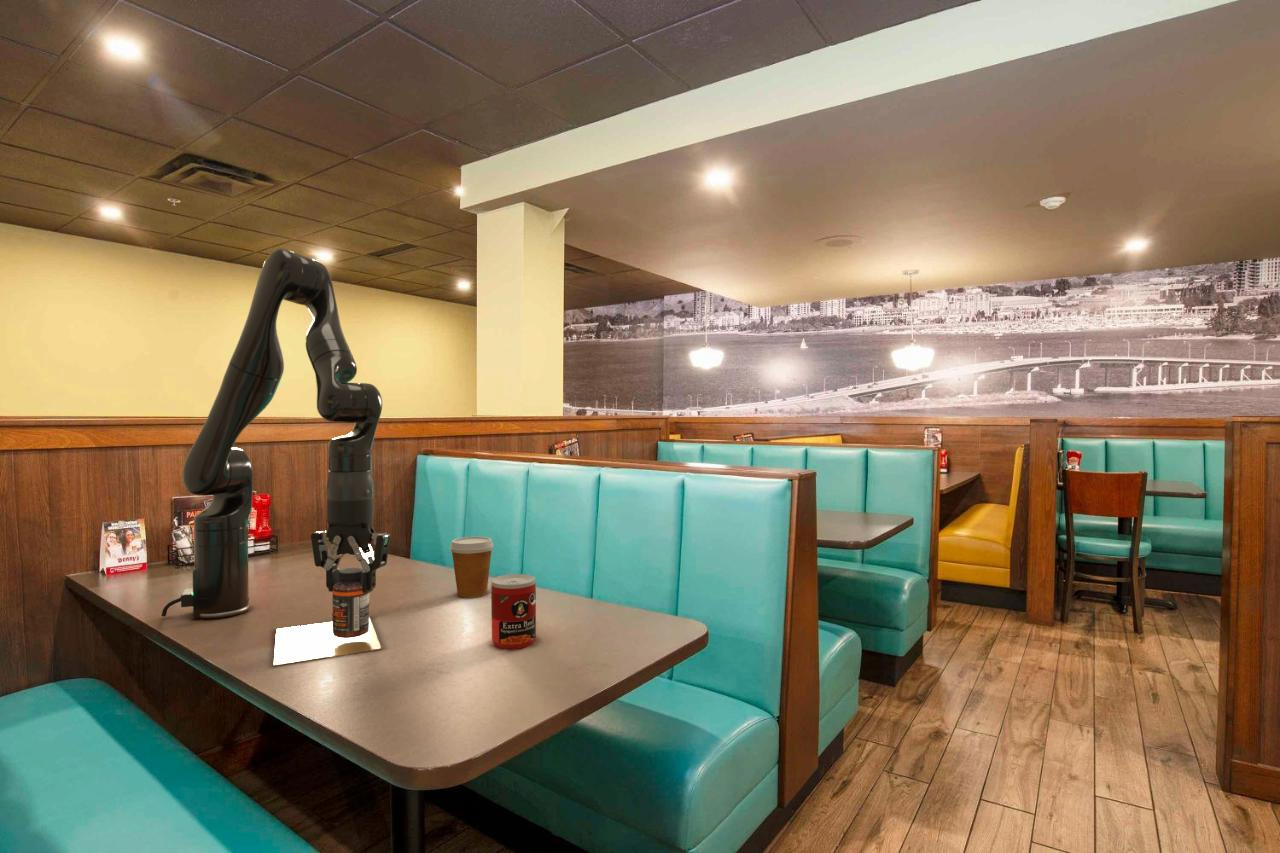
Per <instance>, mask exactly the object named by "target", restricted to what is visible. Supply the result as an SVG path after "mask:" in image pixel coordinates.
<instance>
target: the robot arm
mask: <svg viewBox="0 0 1280 853" xmlns="http://www.w3.org/2000/svg"><path fill="white" fill-rule="evenodd" d="M334 289H335V288H334V285H333V280H332V277H331V274H330V272H329V270H328V268H327V267H326V266H325V264H323V263H321V262H319V261H317V260H315V259H313V258H310V257H308V256H304V255H302V254H300V253H297V252H294V251H291V250H288V249H285V248H275V249H274V250H272V251H271V252H270V253H269V254H268V256H267V257H266V259H265V261H264V263H263V265H262V267H261V270H260V272H259V276H258V279H257V282H256V286H255V289H254V293H253V296H252V299H251V304H250V307H249V311H248V314H247V318H246V319H245V322H244V326H243V328H242V331H241V334H240V336H239V339H238V341H237V344H236V346H235V349H234V351H233V353H232V356H231V358H230V360H229V362H228V365H227V368H226V369H225V373H224V375H223V379H222V381H221V383H220V387H219V389H218V392H217V395H216V397H215V399H214V401H213V404H212V406H211V408H210V411H209V412H208V415H207V418H206V420H205V422H204V424H203V425H202V428H201V430H200V432H199V433H198V435H197V437H196V439H195V441H194V443H193V445H192V447H191V448H190V450H189V452H188V454H187V456H186V458H185V460H184V463H183V468H182V472H181V474H182V476H181V477H182V484H183V485H184V487H185V488H184V489H186V490H187V492H189V493H190V494H191V495H194V496H200V497H203V496H204V497H206V496H207V497H208V496H212V499H211V502H210V503H209V505H208V506H206V507H205V508H204V509H203V510H202V511H200V512H198V513H197V514H196V515H195V516H194V518H193V558H194V559H193V560H194V562H193V563H194V565H193V566H194V567H193V570H192V588H184V590H183V592H182V593H181V595H180V597H178V598H175V599H173V600H171V601H169V602H167V603H166V604H165V605H164V607H163V609H162V612H161V617H166V616H167V613H168V610H169V609H170V607H171V606H173V605H175V604H178V603H180V608H188V607H193V608H192V609H193V610H192V619H194V620H197V619H205V620H206V619H208V620H209V619H219V618H220V619H222V618H228V617H234V616H237V615H240V614H243V613H245V612H247V611H249V610H250V597H249V596H250V592H249V589H250V588H249V583H250V582H249V525H248V524H249V523H248V522H249V517H250V514H251V511H252V507H253V494H254V492H253V491H254V468H253V463H252V460H251V457H250V456H249V454H247V452H246V451H244V449H241V448H238V447H234V445H235V443H236V441H237V439H238V437H239V436H240V435H241V433H242V432H243V431H244V430H245V429H246V428H247V426H249V425H250V424H251V423H252V422H253V421H254V420H255V419H256V418H257V417H258V416H259V415H260V414H261V413H262V412H263V411H264V410H265V409H266V408H267V407H268V405H269V404H270V403H271V401H272V400H273V399H274V396H275V395H276V393H277V389H278V387H279V385H280V382H281V380H282V378H283V374H284V371H285V361H284V355H283V350H282V346H281V344H280V340H279V335H278V330H277V320H278V316H279V311H280V307H281V305H282V302H283V301H285V302H286V301H287V302H290V303H293V304H296V305H300V306H304V307H305V308H307V310H308V311H309V313H310V314H311V316H312V319H313V320H312V322H311V324H310V325H309V328H308V330H307V332H306V335H305V339H304V340H305V341H304V342H305V343H304V345H305V346H304V347H305V350H306V354H307V357H308V359H309V362H310V364H311V367H312V370H313V372H314V376H315V384H316V385H315V387H316V404H315V405H316V410H317V413H318V414H319V415H320V417H321V418H322V419H323V420H325V421H327V422H328V423H333V424H343V423H344V424H350V423H351V424H353V423H354V425H353V427H352V429H351V431H350V432H349V433H348V434H346V435H340V436H337V437H334V438H332V439H330V440H329V442H328V446H327V447H328V450H327V452H328V454H327V460H328V461H327V466H328V467H327V468H328V469H327V470H328V472H327V481H326V523H327V524H328V527H327V530H325V531H324V530H320V531H319V530H318V531H316V532H313V533H311V535H310V539H311V547H312V555H313V561H314V566H315V567H317V568H319V567H321V568H322V569H324V570H325V586H326V589H328V592H329V593H333V586H334V584H335V583H337V582H338V580H339V578H338V577H339V571H340V568H338V567H339V565H340V563H341V560H342V558H343V557H344V556H345V555H347V554H348V555H351V556H355V558H356V560H357V561H358V562H359V563H360V565H361V567H362V569H363V593H369V594H370V593H371V592H373V591H374V589H375V588H376V586H377V570H378V569H380V568H383V567H385V566H386V565H387V563H388V555H389V548H390V541H391V534H390V532H383V533H381V532H376V531H375V529H374V527H373V523H374V518H375V516H374V514H375V513H374V477H373V460H372V459H373V450H372V449H373V445H374V440H375V436H376V433H377V432H376V431H377V428H378V425H379V421H380V419H381V416H382V410H383V397H382V394H381V392H380V390H379V389H378V388H377V387H376V386H375V385H374V384H372V383H365V382H351V381H352V380H353V379H355V377H356V375H357V373H358V367H357V362H356V360H355V358H354V356H353V354H352V351H351V349H350V346H349V343H348V342H347V340H346V337H345V334H344V332H343V329H342V325H341V320H340V315H339V314H340V313H339V309H338V303H337V300H336V295H335V290H334ZM328 541H329V543H330V544H331V546H330V548H329V547H328ZM372 541H373V545H374V550H373V547H372V545H371V543H372ZM328 548H329V549H328Z"/></svg>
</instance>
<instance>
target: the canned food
mask: <svg viewBox="0 0 1280 853" xmlns="http://www.w3.org/2000/svg"><path fill="white" fill-rule="evenodd" d="M536 587H537V582H536V577H535V576H533V575H530V574H526V573H511V574H502V575H499V576H495V577H494V578H492V579H491V584H490V598H491V599H490V600H491V601H490V602H491V608H490V609H491V610H490V612H491V615H490V616H491V641H492V644H493V645H494V646H495V647H496V648H499V649H502V650H503V649H505V650H516V649H522V648H526V647H529V646H532V644H533V643H535V641H536V637H537V588H536Z"/></svg>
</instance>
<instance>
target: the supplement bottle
mask: <svg viewBox="0 0 1280 853" xmlns="http://www.w3.org/2000/svg"><path fill="white" fill-rule="evenodd" d="M363 572H364V570H363V568H361V567H347V568H341V569H339V577H338V578H339V580H338V582H337V583H335V584H334V586H333V592H332V618H331V619H332V622H333V625H332V629H333V635H334V636H336V637H338V638H353V637H358V636H361V635H364V634H365V633H367V632H368V630H369V617H370V592H369V593H363Z"/></svg>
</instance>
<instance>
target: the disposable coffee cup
mask: <svg viewBox="0 0 1280 853" xmlns="http://www.w3.org/2000/svg"><path fill="white" fill-rule="evenodd" d="M494 546H495V544H494V543H493V541H492V537H491V538H490V537H488V536H487V537H486V536H464V537H459V538H454V539H452V540H451V544H450V545H449V550H450V552H451V557H452V563H453V572H454V578H455V586H456V592H457V593H456V594H457V596H458V597H459V598H460V597H461V598H469V599H470V598H479V597H482V596H485V595H486V594H487V592H488V584H489V576H490V569H491V560H492V550H494V549H493V548H494Z"/></svg>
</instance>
